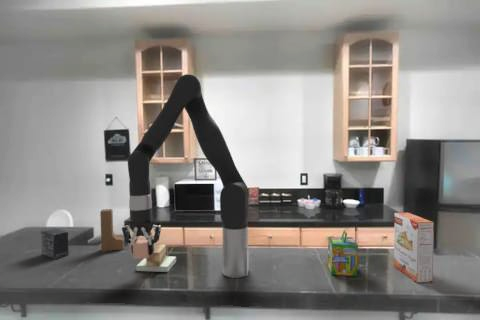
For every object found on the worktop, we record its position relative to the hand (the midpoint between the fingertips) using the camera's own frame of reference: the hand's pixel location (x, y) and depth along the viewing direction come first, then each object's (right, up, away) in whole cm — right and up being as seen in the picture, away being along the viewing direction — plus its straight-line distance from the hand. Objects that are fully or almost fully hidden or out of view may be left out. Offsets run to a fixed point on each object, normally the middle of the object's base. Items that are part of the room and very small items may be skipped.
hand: (143, 254), depth 107 cm
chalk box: (+72, -7, +4) cm, 73 cm away
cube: (0, -1, 0) cm, 1 cm away
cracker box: (+96, -7, 0) cm, 96 cm away
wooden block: (-23, -7, +28) cm, 37 cm away
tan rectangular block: (+2, -5, +9) cm, 11 cm away
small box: (-44, -7, +22) cm, 50 cm away
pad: (+3, -7, +9) cm, 12 cm away
